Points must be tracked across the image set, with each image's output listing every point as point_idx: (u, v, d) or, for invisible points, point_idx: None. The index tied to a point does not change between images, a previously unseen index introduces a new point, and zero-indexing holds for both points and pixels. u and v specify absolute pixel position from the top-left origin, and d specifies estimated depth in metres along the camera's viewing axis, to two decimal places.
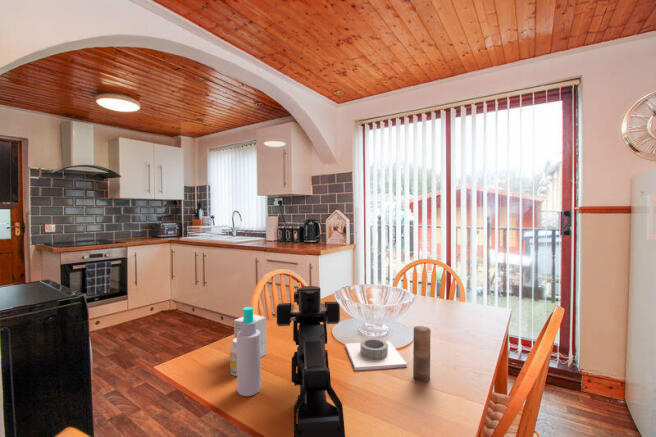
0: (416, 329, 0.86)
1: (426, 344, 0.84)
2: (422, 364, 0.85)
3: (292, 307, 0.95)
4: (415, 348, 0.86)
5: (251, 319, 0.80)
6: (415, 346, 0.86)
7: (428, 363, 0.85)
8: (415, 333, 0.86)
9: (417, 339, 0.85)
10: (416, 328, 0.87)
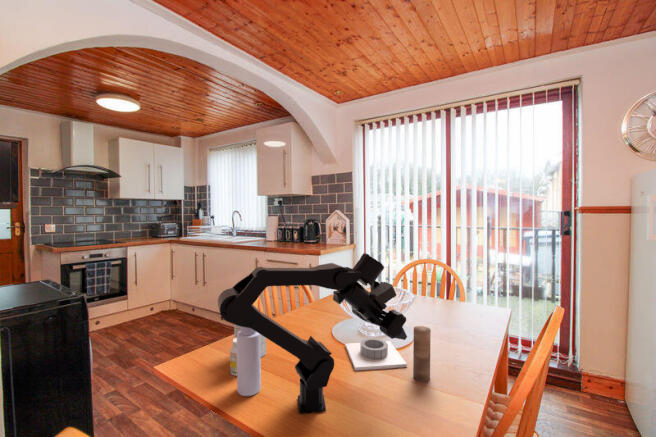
0: (416, 329, 0.86)
1: (426, 344, 0.84)
2: (422, 364, 0.85)
3: None
4: (415, 348, 0.86)
5: None
6: (415, 346, 0.86)
7: (428, 363, 0.85)
8: (415, 333, 0.86)
9: (417, 339, 0.85)
10: (416, 328, 0.87)
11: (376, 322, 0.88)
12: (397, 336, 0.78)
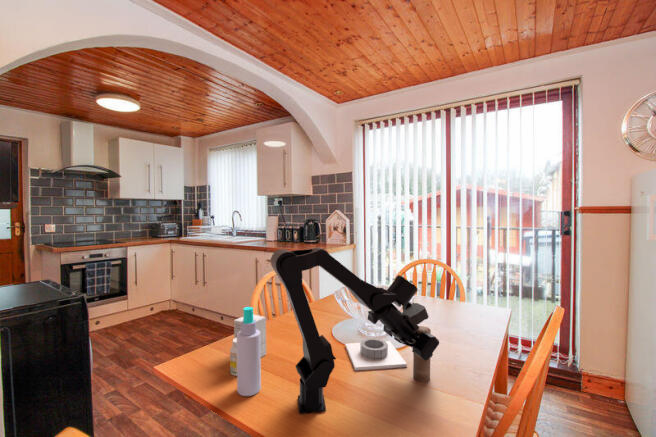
0: None
1: None
2: (422, 364, 0.85)
3: None
4: None
5: (251, 319, 0.80)
6: None
7: (428, 363, 0.85)
8: None
9: None
10: None
11: (411, 344, 0.89)
12: None
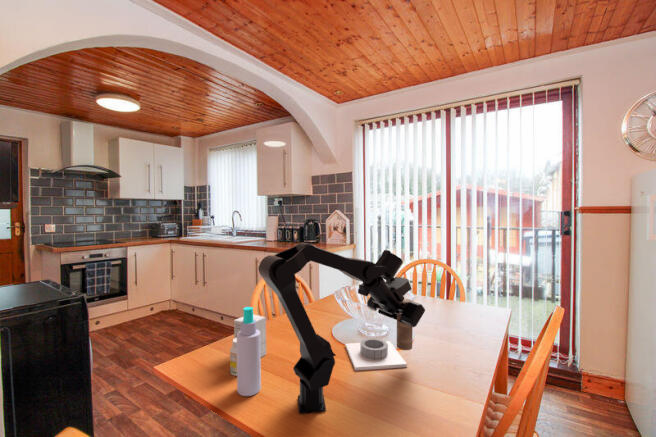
0: None
1: None
2: (406, 333, 0.90)
3: None
4: (399, 319, 0.91)
5: (251, 319, 0.80)
6: (399, 317, 0.91)
7: (411, 332, 0.91)
8: None
9: None
10: None
11: (394, 316, 0.93)
12: None
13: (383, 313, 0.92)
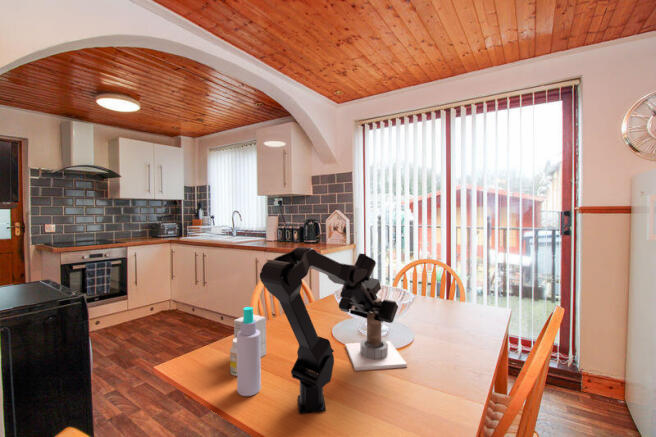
0: None
1: None
2: (377, 329, 0.97)
3: None
4: (371, 317, 0.97)
5: (251, 319, 0.80)
6: (370, 315, 0.97)
7: None
8: None
9: None
10: None
11: (364, 315, 0.99)
12: None
13: (356, 313, 0.97)
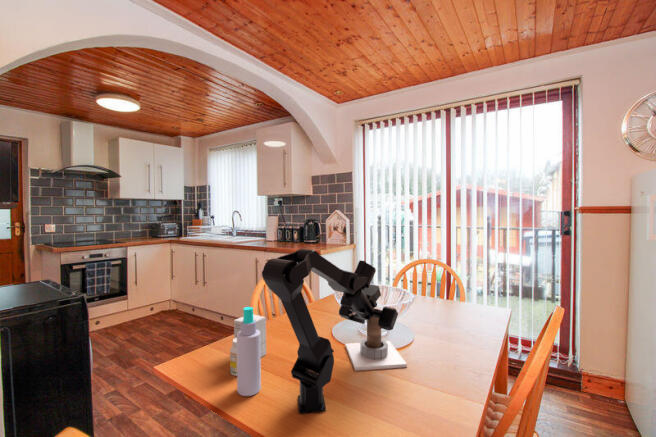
0: None
1: None
2: (377, 341, 0.97)
3: None
4: (370, 328, 0.97)
5: (251, 319, 0.80)
6: (370, 327, 0.97)
7: None
8: None
9: (373, 320, 0.97)
10: None
11: (359, 320, 1.01)
12: None
13: (350, 318, 0.98)
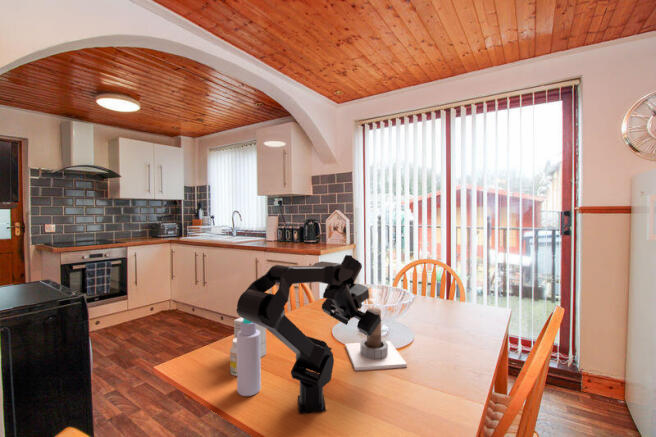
0: None
1: None
2: (377, 340, 0.97)
3: None
4: None
5: None
6: None
7: (380, 339, 0.99)
8: None
9: None
10: None
11: (341, 319, 0.95)
12: None
13: (332, 315, 0.93)
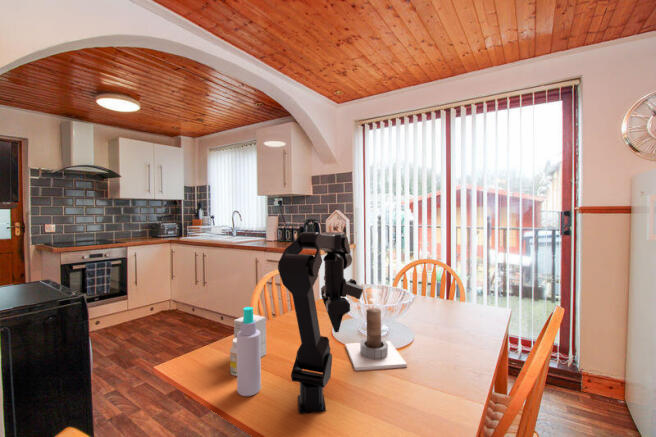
0: (370, 311, 0.98)
1: (379, 323, 0.98)
2: (377, 340, 0.97)
3: None
4: (370, 328, 0.97)
5: (251, 319, 0.80)
6: (370, 326, 0.98)
7: (380, 339, 0.99)
8: (370, 315, 0.97)
9: (372, 319, 0.97)
10: (369, 311, 0.99)
11: None
12: (332, 320, 0.85)
13: (323, 297, 0.97)
